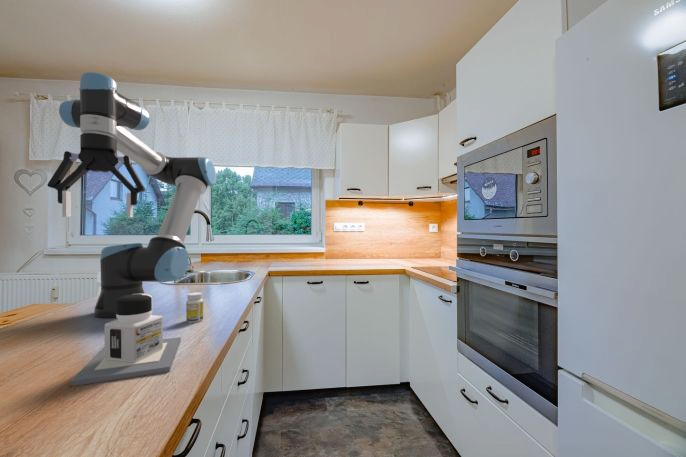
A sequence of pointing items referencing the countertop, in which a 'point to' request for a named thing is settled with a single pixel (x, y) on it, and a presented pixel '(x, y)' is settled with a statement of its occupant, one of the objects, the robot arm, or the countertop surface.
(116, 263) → the robot arm
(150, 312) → the container
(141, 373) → the board
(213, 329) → the countertop surface
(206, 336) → the countertop surface
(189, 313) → the supplement bottle
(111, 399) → the countertop surface
